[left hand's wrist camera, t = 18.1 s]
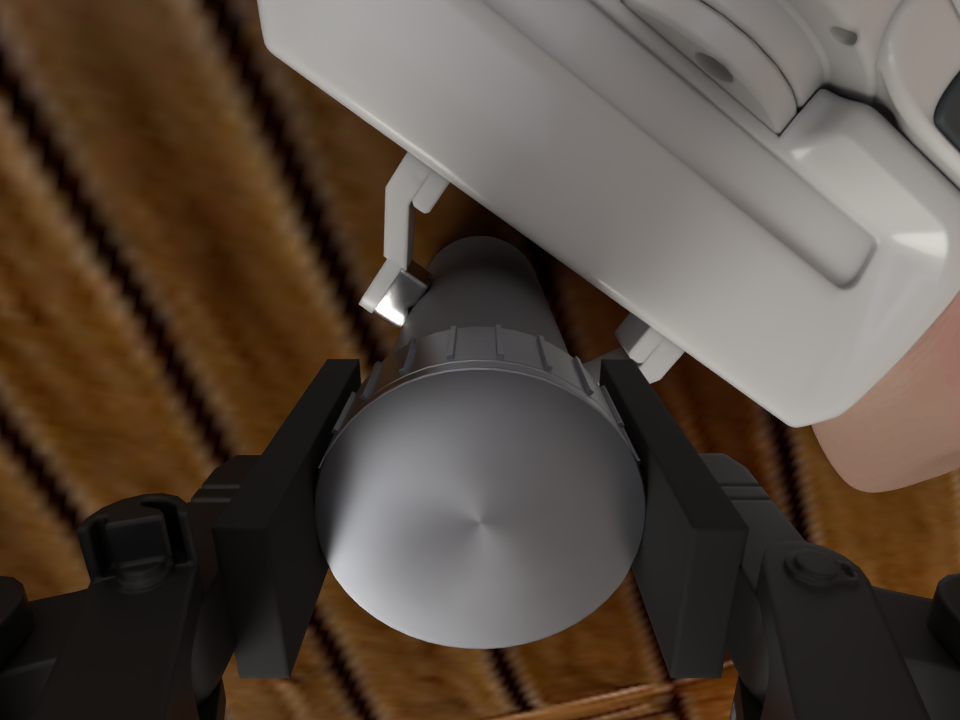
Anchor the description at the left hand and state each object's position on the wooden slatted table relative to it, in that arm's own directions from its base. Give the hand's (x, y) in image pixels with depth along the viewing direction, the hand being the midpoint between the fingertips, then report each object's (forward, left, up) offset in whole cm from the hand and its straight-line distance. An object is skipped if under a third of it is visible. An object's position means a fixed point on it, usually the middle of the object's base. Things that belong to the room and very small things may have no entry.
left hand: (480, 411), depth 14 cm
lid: (0, 0, +4) cm, 4 cm away
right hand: (+1, -1, -5) cm, 5 cm away
